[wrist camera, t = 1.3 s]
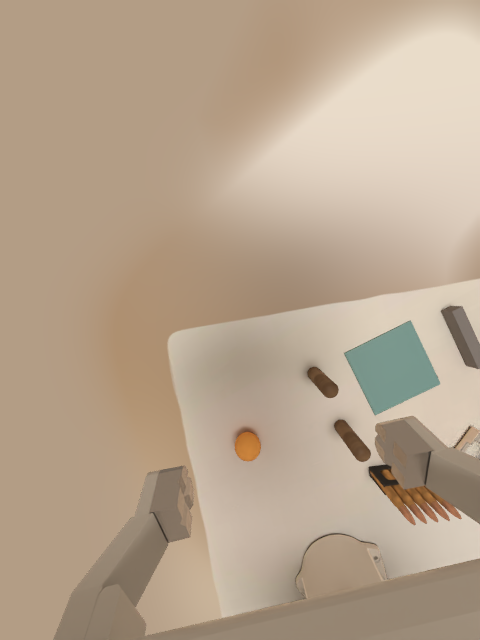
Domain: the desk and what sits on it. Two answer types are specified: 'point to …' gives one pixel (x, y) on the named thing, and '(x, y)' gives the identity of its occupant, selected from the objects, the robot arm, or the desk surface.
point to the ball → (247, 446)
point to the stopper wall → (463, 335)
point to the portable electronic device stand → (469, 439)
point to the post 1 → (323, 382)
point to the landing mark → (392, 368)
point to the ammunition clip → (410, 496)
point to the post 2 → (352, 441)
